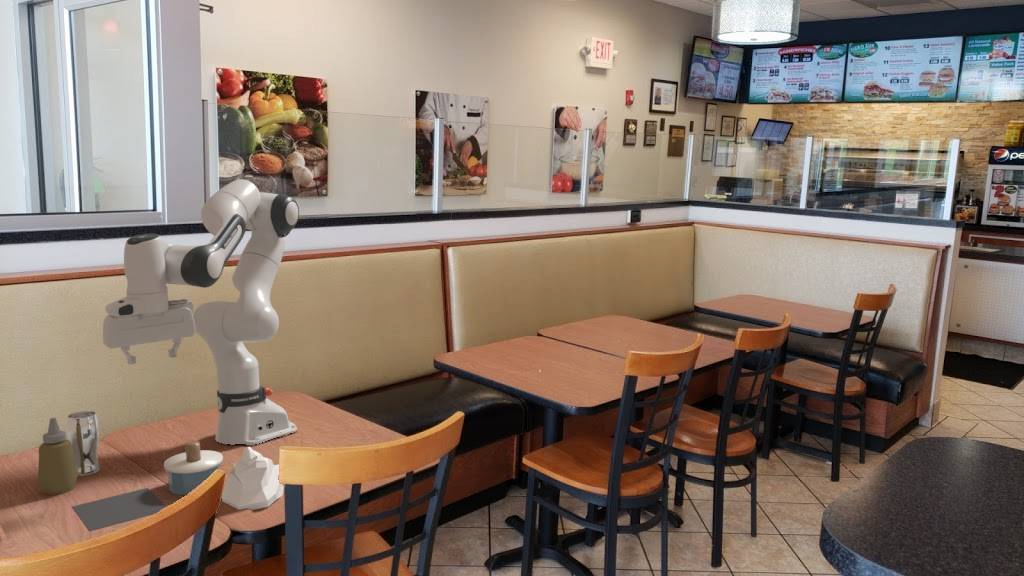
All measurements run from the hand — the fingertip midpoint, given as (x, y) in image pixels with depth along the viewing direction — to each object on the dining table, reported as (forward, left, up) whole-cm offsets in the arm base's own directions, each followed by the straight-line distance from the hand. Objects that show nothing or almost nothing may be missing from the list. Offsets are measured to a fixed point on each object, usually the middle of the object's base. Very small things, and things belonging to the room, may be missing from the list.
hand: (152, 360), depth 187 cm
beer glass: (+12, -19, -31) cm, 38 cm away
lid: (-5, +10, -24) cm, 26 cm away
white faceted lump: (-13, +26, -31) cm, 42 cm away
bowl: (-5, +10, -30) cm, 32 cm away
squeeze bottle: (+20, -9, -31) cm, 38 cm away
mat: (+12, +12, -30) cm, 35 cm away
